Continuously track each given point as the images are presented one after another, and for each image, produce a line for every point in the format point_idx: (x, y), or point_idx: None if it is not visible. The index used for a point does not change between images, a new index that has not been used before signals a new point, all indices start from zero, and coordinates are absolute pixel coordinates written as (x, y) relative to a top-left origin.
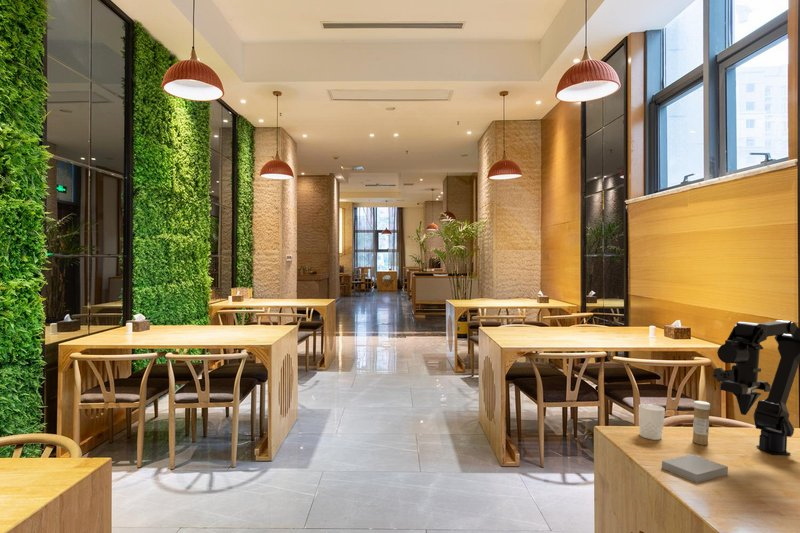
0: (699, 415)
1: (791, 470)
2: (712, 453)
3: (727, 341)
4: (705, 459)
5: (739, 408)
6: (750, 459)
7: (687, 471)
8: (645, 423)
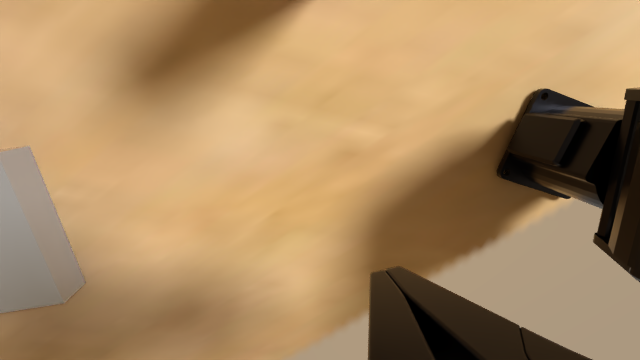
0: None
1: None
2: (234, 92)
3: None
4: (16, 224)
5: (370, 307)
6: (346, 190)
7: None
8: None
